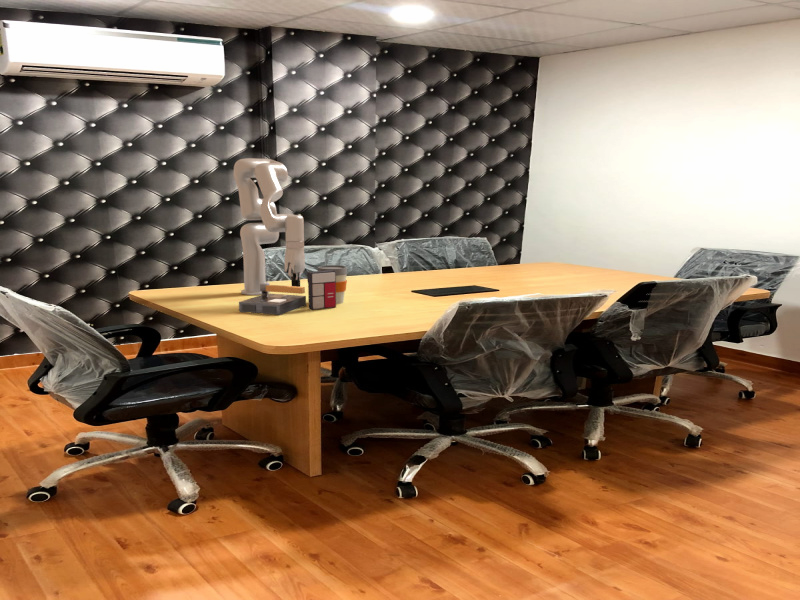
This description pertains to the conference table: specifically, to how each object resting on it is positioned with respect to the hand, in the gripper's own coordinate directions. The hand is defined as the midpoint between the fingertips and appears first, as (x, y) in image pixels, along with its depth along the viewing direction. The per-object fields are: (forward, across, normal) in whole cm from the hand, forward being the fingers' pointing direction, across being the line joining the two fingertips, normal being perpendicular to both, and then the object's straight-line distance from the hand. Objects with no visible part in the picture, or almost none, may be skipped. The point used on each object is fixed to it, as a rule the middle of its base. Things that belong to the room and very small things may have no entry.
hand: (295, 289), depth 307 cm
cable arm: (0, +7, -3) cm, 7 cm away
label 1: (+2, +8, -4) cm, 9 cm away
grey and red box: (+6, +6, +15) cm, 17 cm away
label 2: (+2, +18, +1) cm, 18 cm away
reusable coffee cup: (+6, -8, +13) cm, 17 cm away
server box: (+6, +14, -3) cm, 15 cm away
